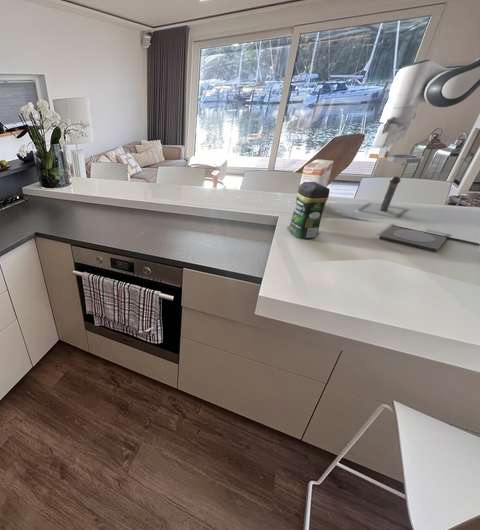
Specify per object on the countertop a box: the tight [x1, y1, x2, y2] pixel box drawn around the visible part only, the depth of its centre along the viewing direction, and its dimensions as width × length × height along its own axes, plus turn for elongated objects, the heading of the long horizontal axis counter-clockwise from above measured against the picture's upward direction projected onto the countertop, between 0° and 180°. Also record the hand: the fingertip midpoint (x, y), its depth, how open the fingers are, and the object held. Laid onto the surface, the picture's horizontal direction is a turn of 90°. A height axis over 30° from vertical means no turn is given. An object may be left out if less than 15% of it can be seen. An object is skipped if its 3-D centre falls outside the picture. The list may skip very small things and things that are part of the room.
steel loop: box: [368, 153, 425, 164], centre depth 106 cm, size 15×9×1 cm, turn 36°
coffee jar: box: [288, 182, 330, 240], centre depth 100 cm, size 10×8×19 cm
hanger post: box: [378, 176, 401, 212], centre depth 112 cm, size 12×12×14 cm
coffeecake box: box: [299, 159, 334, 188], centre depth 120 cm, size 15×7×20 cm, turn 134°
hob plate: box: [379, 225, 449, 253], centre depth 96 cm, size 14×14×1 cm
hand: (382, 156), depth 109 cm, fingers closed on steel loop, 1 cm apart
